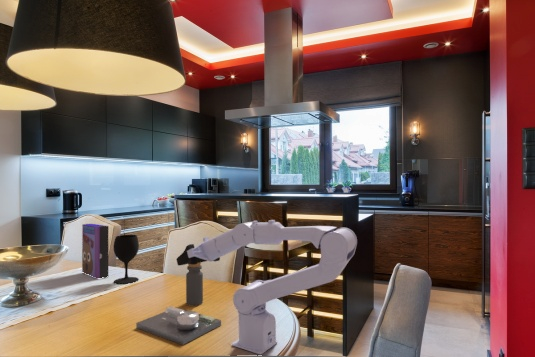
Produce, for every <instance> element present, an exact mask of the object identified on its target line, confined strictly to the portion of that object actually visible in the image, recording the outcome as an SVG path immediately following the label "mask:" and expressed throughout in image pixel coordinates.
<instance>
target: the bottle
mask: <svg viewBox="0 0 535 357" xmlns="http://www.w3.org/2000/svg"><path fill="white" fill-rule="evenodd" d="M201 269H203V266H202V262H200V263H197V264H194V265H192V264H187V267H186V270H188V272H187V273H185V274H186V275H185V290H186V292H185V295H186V296H185V300H186V301H185V302H186V305H187V306H192V307H194V306H199V305H202V304H203V303H204V296H203V295H204V294H203V293H204V279H203V278H204V274H203V272H202V271H201Z"/></svg>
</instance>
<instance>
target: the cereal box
mask: <svg viewBox="0 0 535 357" xmlns="http://www.w3.org/2000/svg"><path fill="white" fill-rule="evenodd" d="M81 227H82V228H81V231H82V233H81V237H82V238H81V240H82V243H81V245H82V247H81V248H82V250H81V251H82V252H81V255H82V256H81V259H82V261H81V262H82V263H81V264H82V265H81V268H82V269H81V270H82V271H81V272H84V273H86V274H89V275H91V276H93V277H96V278H102V277H107V276H108V277H109V225H104V224H96V223H85V224H83V223H82V226H81ZM93 277H92V278H93ZM108 277H107V278H108ZM102 279H103V278H102Z"/></svg>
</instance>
